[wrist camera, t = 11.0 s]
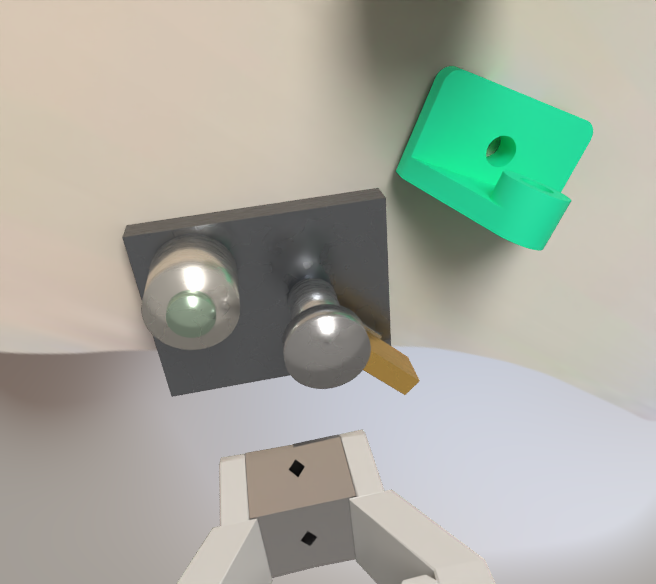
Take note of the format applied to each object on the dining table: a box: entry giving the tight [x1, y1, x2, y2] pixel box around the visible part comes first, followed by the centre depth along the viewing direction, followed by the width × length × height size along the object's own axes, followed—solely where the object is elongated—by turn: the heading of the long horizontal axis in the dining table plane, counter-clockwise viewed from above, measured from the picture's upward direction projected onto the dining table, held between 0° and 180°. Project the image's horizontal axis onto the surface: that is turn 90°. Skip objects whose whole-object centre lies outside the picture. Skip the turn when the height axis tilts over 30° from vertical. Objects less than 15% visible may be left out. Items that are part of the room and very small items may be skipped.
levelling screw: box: [282, 278, 419, 395], centre depth 39 cm, size 12×6×7 cm, turn 49°
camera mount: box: [396, 66, 593, 250], centre depth 36 cm, size 12×8×10 cm, turn 69°
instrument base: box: [123, 188, 391, 396], centre depth 39 cm, size 18×14×8 cm
